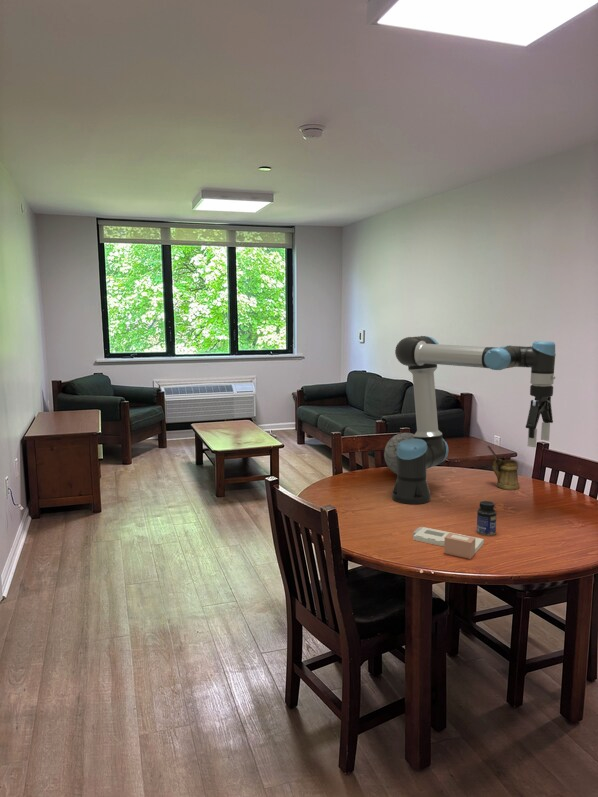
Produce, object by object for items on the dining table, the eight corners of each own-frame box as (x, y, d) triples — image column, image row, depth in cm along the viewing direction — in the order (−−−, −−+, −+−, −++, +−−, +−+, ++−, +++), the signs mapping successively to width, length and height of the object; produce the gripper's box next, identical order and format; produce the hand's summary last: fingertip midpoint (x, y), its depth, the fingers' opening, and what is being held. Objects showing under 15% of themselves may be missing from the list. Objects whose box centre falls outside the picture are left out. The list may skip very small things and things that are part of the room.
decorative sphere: (376, 472, 266) (376, 431, 263) (412, 468, 273) (412, 427, 271) (398, 483, 248) (399, 439, 245) (436, 478, 255) (437, 435, 252)
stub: (444, 553, 172) (444, 537, 172) (449, 548, 176) (449, 532, 175) (470, 559, 168) (470, 542, 167) (474, 553, 172) (475, 537, 171)
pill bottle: (493, 539, 185) (494, 507, 183) (474, 536, 188) (475, 504, 186) (497, 533, 190) (498, 501, 188) (479, 530, 193) (480, 498, 192)
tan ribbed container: (484, 483, 247) (485, 443, 245) (516, 484, 245) (518, 443, 243) (487, 489, 238) (489, 447, 236) (521, 490, 236) (523, 448, 234)
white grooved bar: (413, 540, 183) (413, 535, 183) (423, 531, 190) (423, 526, 190) (475, 553, 172) (475, 548, 172) (483, 543, 180) (483, 538, 179)
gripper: (540, 389, 189) (537, 451, 192) (564, 382, 208) (560, 439, 211) (518, 387, 194) (515, 447, 197) (543, 381, 213) (539, 436, 216)
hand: (538, 443), depth 204 cm, fingers open, 13 cm apart
